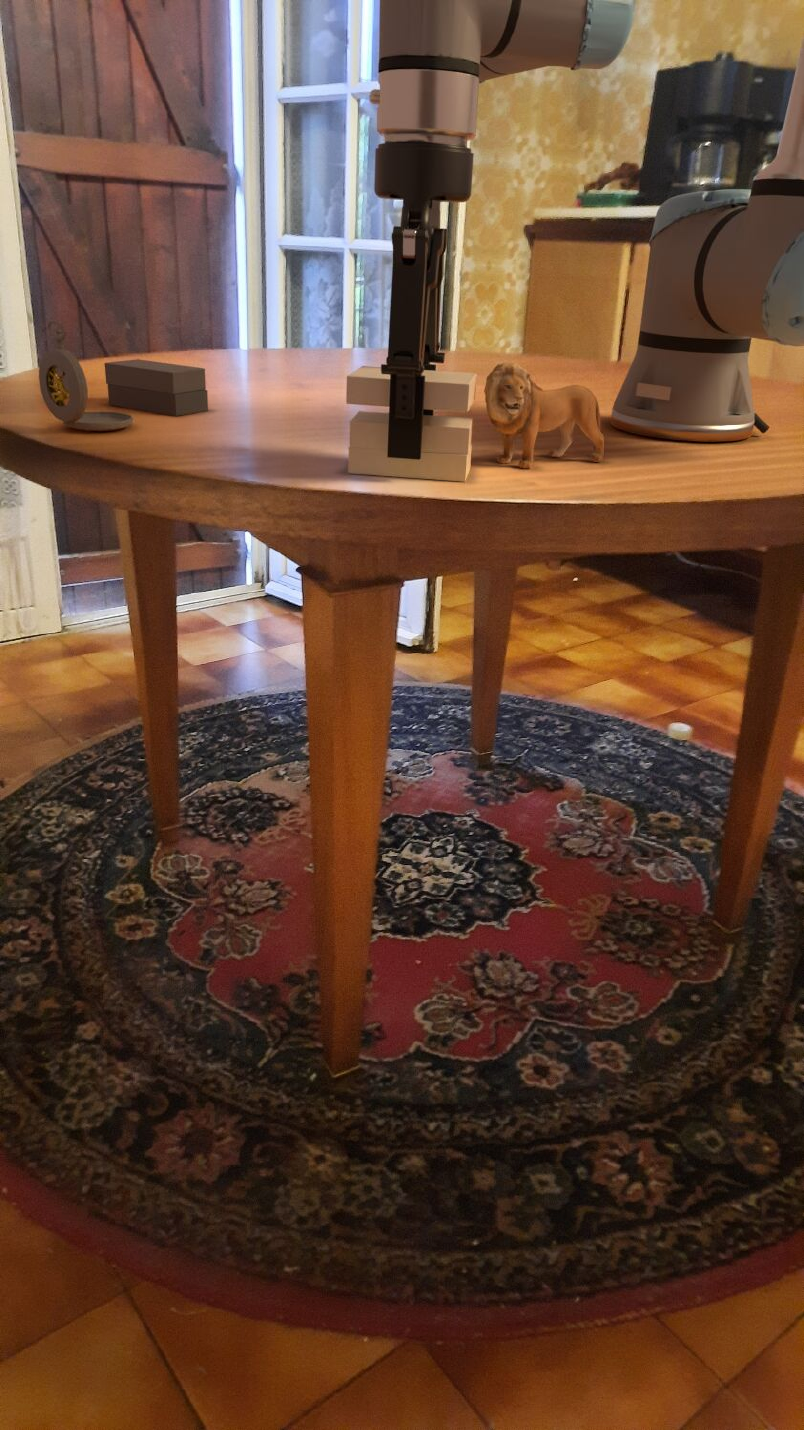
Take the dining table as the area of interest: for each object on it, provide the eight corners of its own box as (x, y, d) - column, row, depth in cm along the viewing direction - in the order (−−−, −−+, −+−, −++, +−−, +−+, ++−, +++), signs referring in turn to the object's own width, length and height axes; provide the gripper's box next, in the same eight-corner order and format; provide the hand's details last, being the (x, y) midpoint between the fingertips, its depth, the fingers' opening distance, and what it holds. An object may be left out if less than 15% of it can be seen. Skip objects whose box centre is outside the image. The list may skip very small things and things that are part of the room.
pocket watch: (142, 423, 103) (135, 317, 99) (113, 439, 95) (104, 325, 91) (63, 419, 103) (53, 313, 99) (28, 434, 96) (15, 320, 92)
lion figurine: (504, 476, 88) (513, 367, 84) (464, 464, 92) (471, 359, 88) (619, 460, 96) (632, 360, 92) (578, 450, 100) (589, 353, 96)
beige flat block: (474, 399, 88) (476, 373, 87) (468, 412, 82) (470, 384, 81) (361, 392, 89) (361, 366, 88) (346, 404, 83) (346, 376, 82)
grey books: (208, 410, 111) (206, 368, 109) (176, 416, 107) (173, 372, 106) (140, 399, 116) (137, 359, 114) (107, 404, 112) (104, 362, 110)
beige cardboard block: (471, 469, 90) (474, 418, 88) (466, 482, 85) (469, 428, 83) (358, 460, 91) (359, 410, 89) (346, 473, 86) (347, 420, 84)
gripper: (395, 150, 87) (385, 426, 97) (352, 129, 69) (345, 469, 79) (483, 154, 86) (464, 431, 96) (462, 133, 68) (441, 477, 78)
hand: (410, 448), depth 87 cm, fingers closed on beige flat block, 7 cm apart
